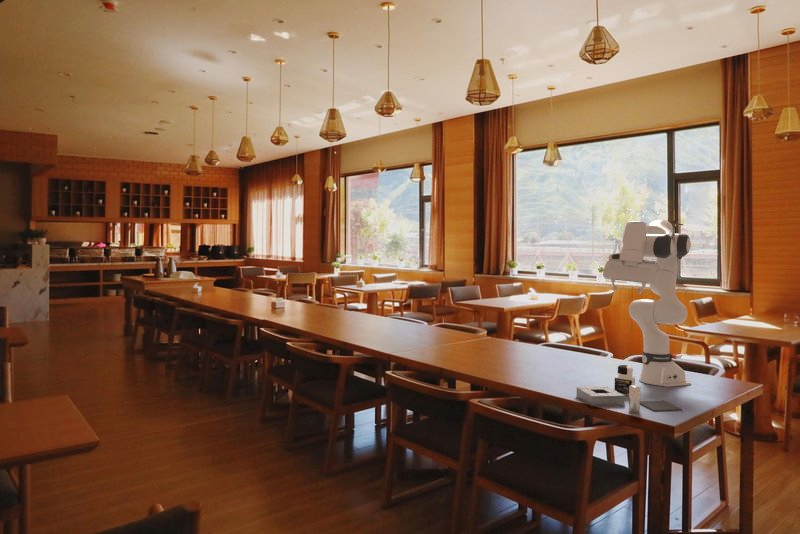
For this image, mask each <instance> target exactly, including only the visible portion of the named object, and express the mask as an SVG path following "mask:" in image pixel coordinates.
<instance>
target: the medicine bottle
mask: <svg viewBox="0 0 800 534" xmlns="http://www.w3.org/2000/svg"><path fill="white" fill-rule="evenodd" d="M633 369H634V368H633V366H631V365H627V364H620V365H618V366H617V375H616V376H615V377H614V387H613V388H614V389H613V390H615V391H617V392H619V393H621V394H623V395H625V396H629V386H630V385H636V376H634V375H633Z"/></svg>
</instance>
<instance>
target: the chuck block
mask: <svg viewBox="0 0 800 534" xmlns="http://www.w3.org/2000/svg"><path fill="white" fill-rule="evenodd" d="M576 398H578V399H579V400H581V401H583V402H584V403H586V404H588V405H589V406H591V407H605V406H607V407H612V406H613V407H614V405H618V406H625V404H626V403H625V401H626V400H625V399H626V395H623V394H621V393H619V392H617V391H615V390H614V389H613V388H611V387H609V386H583V387H582V386H579V387H576ZM610 405H611V406H610Z"/></svg>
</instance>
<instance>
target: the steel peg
mask: <svg viewBox="0 0 800 534" xmlns="http://www.w3.org/2000/svg"><path fill="white" fill-rule="evenodd" d="M641 389H642V388H641V386H640V385H636V384H635V385H630V386H629V395H628V412H629V413H630V414H635V415H636V414H637V415H638V414H640V413H641V405H640V401H641Z"/></svg>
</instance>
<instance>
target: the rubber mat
mask: <svg viewBox="0 0 800 534" xmlns="http://www.w3.org/2000/svg"><path fill="white" fill-rule="evenodd" d="M640 406H642V407H644V408H646V409H648V410H650V411H651V412H678V411H677V410H682V411H683V408H680V407H679V406H677V405H674V404H672V403H671V402H668V401H666V400H640ZM670 410H671V411H670ZM674 410H675V411H674Z"/></svg>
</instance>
